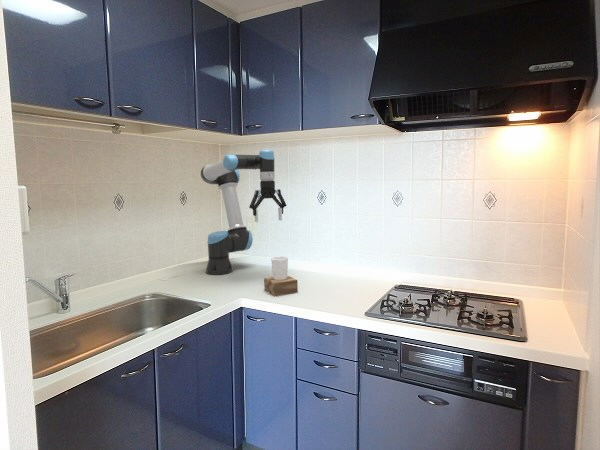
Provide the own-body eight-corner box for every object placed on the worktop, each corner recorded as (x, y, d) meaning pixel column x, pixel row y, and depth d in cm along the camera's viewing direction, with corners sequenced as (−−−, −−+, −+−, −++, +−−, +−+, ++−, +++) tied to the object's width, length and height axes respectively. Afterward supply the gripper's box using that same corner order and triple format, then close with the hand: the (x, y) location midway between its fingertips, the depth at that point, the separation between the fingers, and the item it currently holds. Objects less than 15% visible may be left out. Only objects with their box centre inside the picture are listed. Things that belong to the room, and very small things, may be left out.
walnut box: (264, 290, 189) (264, 277, 188) (286, 286, 195) (286, 274, 194) (274, 296, 179) (274, 283, 178) (297, 292, 184) (297, 279, 184)
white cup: (279, 275, 192) (279, 255, 190) (291, 278, 187) (291, 257, 185) (268, 278, 186) (267, 258, 184) (280, 281, 181) (279, 260, 179)
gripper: (247, 181, 191) (248, 223, 194) (292, 179, 203) (293, 220, 205) (242, 180, 197) (243, 222, 200) (285, 179, 209) (286, 218, 212)
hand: (268, 221), depth 203 cm, fingers open, 13 cm apart
